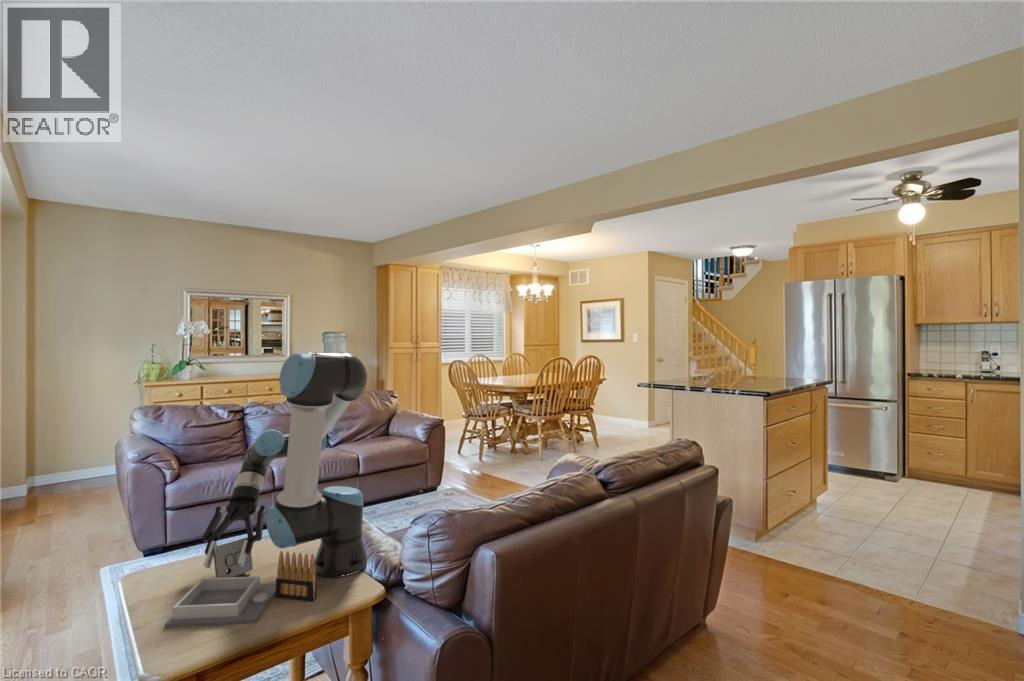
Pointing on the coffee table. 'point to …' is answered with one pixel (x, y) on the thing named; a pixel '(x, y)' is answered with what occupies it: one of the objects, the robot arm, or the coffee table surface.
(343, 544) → the robot arm
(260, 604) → the housing
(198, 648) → the coffee table surface
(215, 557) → the electrical switch
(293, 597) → the ammunition clip
